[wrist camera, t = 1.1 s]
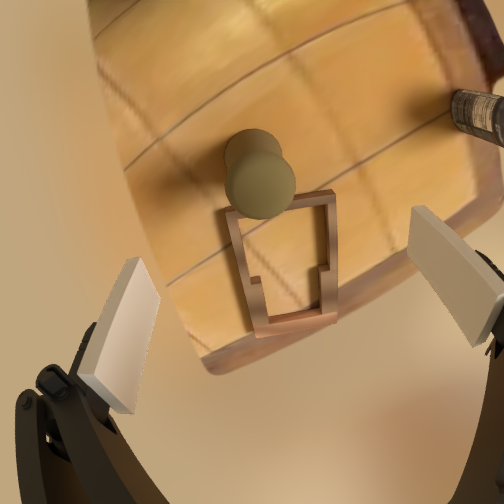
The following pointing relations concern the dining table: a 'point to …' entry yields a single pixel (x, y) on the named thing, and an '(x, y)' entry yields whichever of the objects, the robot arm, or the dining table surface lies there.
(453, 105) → the pill bottle
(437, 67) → the dining table surface
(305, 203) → the keyhole board
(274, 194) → the olive rounded upright piece
